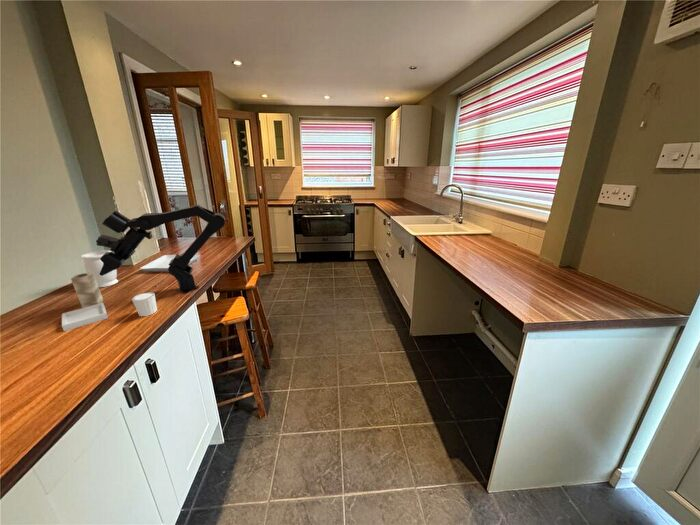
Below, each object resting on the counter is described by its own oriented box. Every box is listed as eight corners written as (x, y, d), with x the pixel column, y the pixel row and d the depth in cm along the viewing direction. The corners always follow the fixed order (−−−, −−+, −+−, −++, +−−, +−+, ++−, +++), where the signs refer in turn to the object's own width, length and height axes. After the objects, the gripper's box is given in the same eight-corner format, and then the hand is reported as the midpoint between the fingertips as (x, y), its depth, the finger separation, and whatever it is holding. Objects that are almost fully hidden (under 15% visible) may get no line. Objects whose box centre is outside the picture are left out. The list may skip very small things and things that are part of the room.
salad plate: (181, 273, 142) (179, 267, 141) (139, 274, 142) (137, 267, 141) (202, 259, 162) (201, 254, 161) (166, 260, 162) (164, 254, 161)
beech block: (103, 300, 115) (93, 271, 110) (98, 305, 110) (87, 276, 106) (88, 302, 113) (77, 273, 109) (82, 308, 109) (70, 278, 104)
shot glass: (148, 318, 101) (142, 301, 98) (132, 317, 102) (126, 299, 100) (163, 309, 107) (159, 292, 105) (148, 307, 108) (143, 291, 106)
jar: (87, 286, 128) (75, 255, 123) (112, 278, 137) (102, 249, 132) (101, 290, 124) (89, 258, 119) (126, 281, 133) (116, 251, 128)
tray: (104, 307, 109) (103, 302, 109) (108, 318, 101) (106, 313, 101) (63, 318, 102) (61, 313, 101) (64, 331, 94) (61, 326, 93)
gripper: (117, 223, 114) (92, 252, 114) (98, 233, 98) (69, 267, 98) (145, 239, 120) (121, 267, 119) (132, 251, 103) (104, 284, 103)
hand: (105, 270), depth 110 cm, fingers open, 9 cm apart
